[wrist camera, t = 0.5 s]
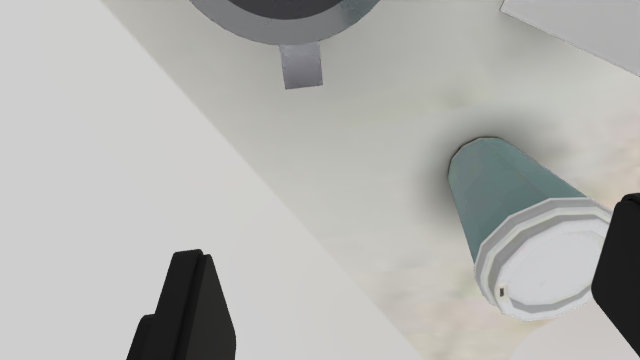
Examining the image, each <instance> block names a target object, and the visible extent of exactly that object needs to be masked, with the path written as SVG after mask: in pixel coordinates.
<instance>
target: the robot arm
mask: <svg viewBox="0 0 640 360" xmlns="http://www.w3.org/2000/svg"><path fill="white" fill-rule="evenodd" d="M591 292H592V296H593V298H594V299H595V301H596V303H597V304H598V305H599V306H600V308H601V309H602V310H603V311H604V312H605V314H606V315H607V316H608V318H609V319H610V320H611V321H612V323H613V324H614V325H615V327H616V328H617V329H618V330H619V332H620V333H621V334H622V335H623V337H624V338H625V339H626V340H627V342H628V343H629V344H630V346H631V347H632V348H633V349H634V351H635V352H636V353H637V354H638V356H639V357H640V193H633V194H628V195H625V196H624V197H623V198H622V200H621V202H618V203H617V204H616V206H615V208H614V212H613V215H612V218H611V221H610V225H609V228H608V231H607V234H606V238H605V241H604V244H603V248H602V251H601V254H600V257H599V261H598V264H597V267H596V270H595V274H594V277H593V280H592V284H591ZM235 351H236V335H235V330H234V327H233V324H232V321H231V317H230V314H229V311H228V308H227V304H226V301H225V298H224V295H223V292H222V289H221V285H220V282H219V279H218V276H217V273H216V269H215V266H214V263H213V259H212V257H211V255H210V254H207V255H203V252H202V251H201V250H200V249H196V250H189V251H180V252H175V253H174V254H173V257H172V260H171V263H170V266H169V269H168V272H167V276H166V279H165V282H164V285H163V289H162V292H161V295H160V298H159V301H158V305H157V308H156V311H155V314H150V315H144V316H143V317H142V318H141V320H140V322H139V324H138V327H137V330H136V333H135V336H134V339H133V342H132V344H131V347H130V350H129V353H128V356H127V359H126V360H235Z"/></svg>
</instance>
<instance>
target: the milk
mask: <svg viewBox="0 0 640 360" xmlns="http://www.w3.org/2000/svg"><path fill="white" fill-rule="evenodd" d="M500 11H502V12H504V13H506V14H508V15H510V16H512V17H514V18H517V19H519V20H521V21H523V22H525V23H527V24H529V25H531V26H533V27H536V28H538V29H540V30H542V31H544V32H546V33H548V34H550V35H552V36H554V37H557V38H559V39H561V40H563V41H565V42H567V43H569V44H571V45H573V46H576V47H578V48H580V49H582V50H584V51H586V52H588V53H590V54H592V55H595V56H597V57H599V58H601V59H603V60H605V61H607V62H609V63H611V64H614V65H616V66H618V67H620V68H622V69H624V70H626V71H628V72H630V73H632V74H635V75H637V76H639V77H640V0H505V1H504V3H503V5H502V7H501V9H500Z"/></svg>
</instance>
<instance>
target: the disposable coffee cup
mask: <svg viewBox="0 0 640 360" xmlns="http://www.w3.org/2000/svg"><path fill="white" fill-rule="evenodd" d="M448 181H449V184H450V187H451V191H452V194H453V197H454V200H455V203H456V207H457V210H458V213H459V216H460V220H461V223H462V226H463V229H464V233H465V236H466V239H467V242H468V245H469V249H470V252H471V255H472V258H473V262H474V278H475V280H476V282H477V284H478V286H479V288H480V290H481V292H482V294H483V296H485V297H486V299H487V300H488V302H489V303H490V304H492V305H494V306H497V307H499V309H500V311H501V313H502V314H505V315H508V316H511V317H513V318H516V319H519V320H522V321H525V322H527V321H534V320H542V319H549V318H556V317H558V316H560V315H562V314H565V313H567V312H569V311H571V310H573V309H575V308H578V307H580V306H582V305H584V304H586V303H587V302H589V301H590V300H591V299H592V298H593V296H592V292H591V284H592V280H593V277H594V274H595V270H596V267H597V264H598V261H599V257H600V254H601V251H602V248H603V244H604V241H605V238H606V234H607V231H608V228H609V225H610V221H611V218H612V215H613V212H614V211H612V210H610V209H609V208H607V207H605V206H604V205H602V204H600V203H599V202H597V201H595V200H594V199H592V198H591V197H587V196H585V195H584V194H582V193H581V192H580V191H578V190H577V189H575V188H574V187H572V186H571V185H569V184H568V183H566V182H565V181H564V180H562V179H561V178H559V177H558V176H556V175H555V174H553V173H552V172H550V171H549V170H548V169H546V168H545V167H543V166H542V165H540V164H539V163H537V162H536V161H534V160H533V159H532V158H530V157H529V156H527V155H526V154H524V153H523V152H521V151H520V150H518V149H517V148H516V147H514V146H512V145H511V144H509V143H508V142H506V141H504V140H503V139H497V138H478V139H476V140H474V141H472V142H470V143H468V144H466V145H464V146H462V147H461V149H460V150H459V151H458V152H457V153H456V154H455V156H454V157H453V158H452V159H451V164H450V169H449V175H448Z"/></svg>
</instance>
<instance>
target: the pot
mask: <svg viewBox="0 0 640 360" xmlns="http://www.w3.org/2000/svg"><path fill="white" fill-rule="evenodd" d="M190 1H191V2H192V3H193V5H194V6H195V7H196V8H197V9H199V10H200V11H201V12H202V13H203V14H205V15H206V16H207V17H208V18H209V19H211V20H212V21H214V22H215V23H217V24H218V25H220V26H221V27H223V28H224V29H226V30H228V31H230V32H232V33H234V34H236V35H238V36H241V37H244V38H246V39H249V40H252V41H256V42H260V43H265V44H271V45H279V46H280V53H281V60H282V68H283V75H284V82H285V89H293V88H302V87H311V86H319V85H323V82H322V71H321V60H320V50H319V41H320V40H323V39H326V38H329V37H331V36H333V35H335V34H337V33H340V32H342V31H344V30H345V29H347V28H348V27H350V26H351V25H353V24H354V23H356V22H357V21H359V20H360V19H361V18H362V17H363V16H365V15H366V14H367V13H368V12H369V11H370V10H371V9H372V8H373V7H374V6H375V5H376V4H377V3H378V2H379V1H380V0H190Z"/></svg>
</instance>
